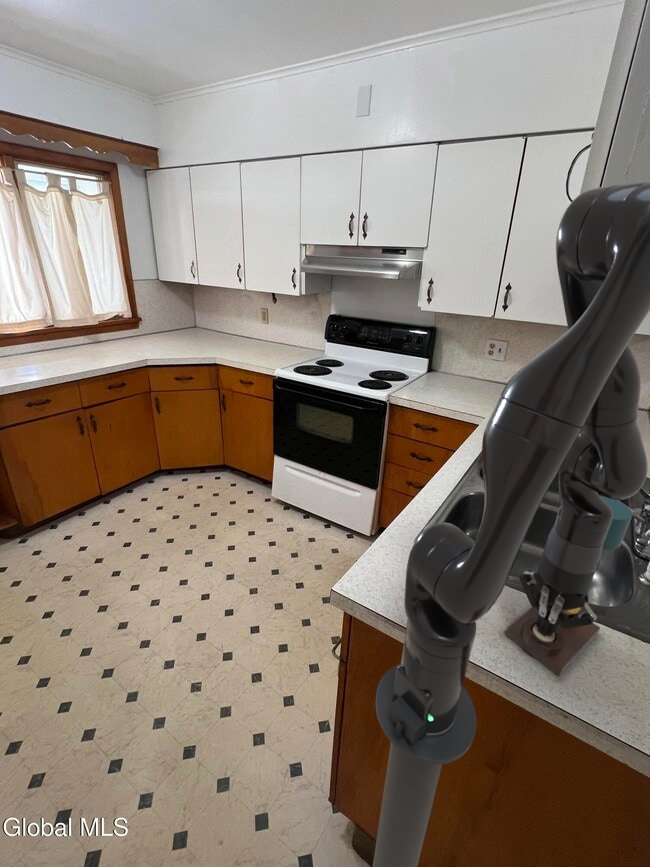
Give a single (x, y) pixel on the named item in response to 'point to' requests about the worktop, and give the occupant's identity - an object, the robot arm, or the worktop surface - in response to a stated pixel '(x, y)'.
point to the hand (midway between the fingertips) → (544, 631)
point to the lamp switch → (541, 637)
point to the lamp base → (561, 649)
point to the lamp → (614, 529)
